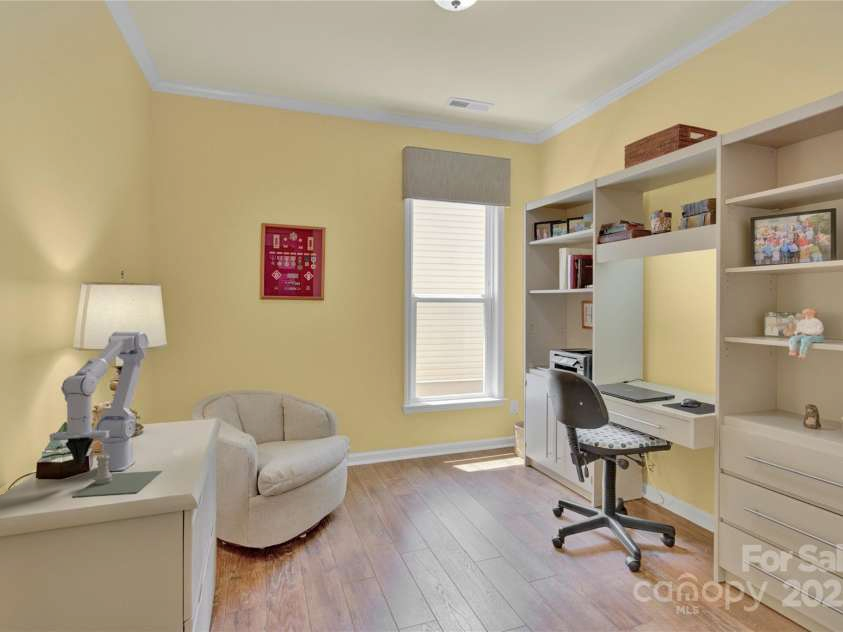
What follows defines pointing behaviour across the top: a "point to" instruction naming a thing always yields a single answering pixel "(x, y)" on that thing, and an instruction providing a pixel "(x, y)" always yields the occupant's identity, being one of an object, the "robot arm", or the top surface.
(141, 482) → the mat
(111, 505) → the top surface
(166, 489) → the top surface
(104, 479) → the rook chess piece
